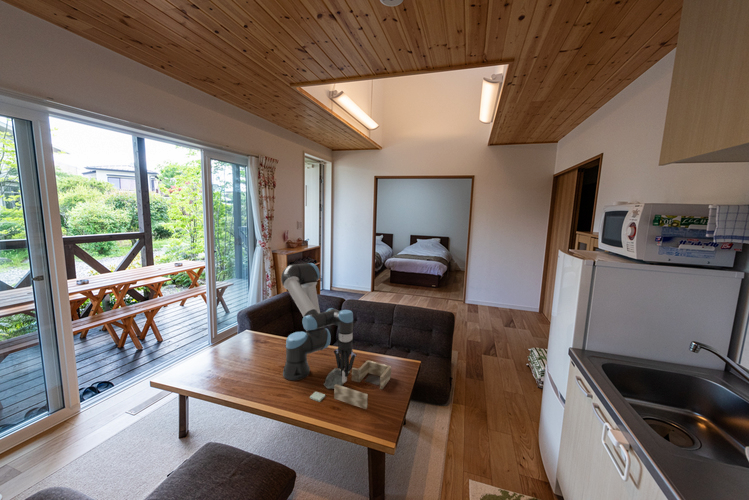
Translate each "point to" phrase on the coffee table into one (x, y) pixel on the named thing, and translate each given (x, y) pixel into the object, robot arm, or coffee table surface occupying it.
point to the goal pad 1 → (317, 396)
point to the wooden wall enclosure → (358, 374)
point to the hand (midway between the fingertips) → (344, 381)
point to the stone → (333, 379)
